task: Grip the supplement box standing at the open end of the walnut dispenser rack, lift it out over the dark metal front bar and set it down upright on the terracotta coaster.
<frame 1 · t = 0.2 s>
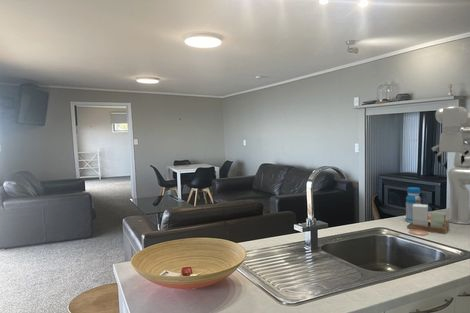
hand: (450, 163, 171), 36 cm above the kitchen counter, tool pointing down, fingers open, 9 cm apart
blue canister: (413, 221, 195), on the kitchen counter
supplement box: (420, 228, 181), resting in rack
rack: (427, 228, 179), on the kitchen counter
coaster: (418, 232, 172), on the kitchen counter
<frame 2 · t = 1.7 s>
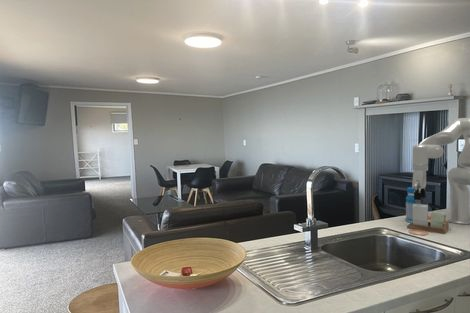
hand: (419, 198, 180), 16 cm above the kitchen counter, tool pointing down, fingers open, 9 cm apart
nothing on the kitchen counter moved.
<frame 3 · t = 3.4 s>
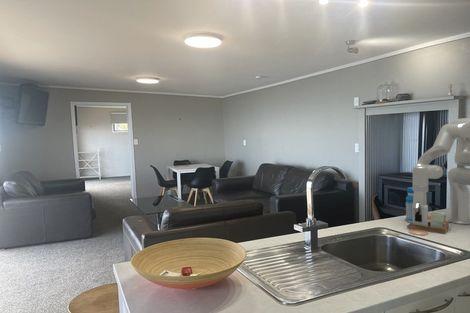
hand: (420, 219, 181), 5 cm above the kitchen counter, tool pointing down, fingers closed on supplement box, 8 cm apart
supplement box: (420, 228, 181), resting in rack, touching gripper
everything else where it was.
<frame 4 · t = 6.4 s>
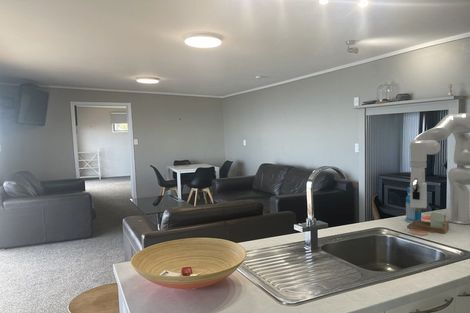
hand: (418, 197, 171), 19 cm above the kitchen counter, tool pointing down, fingers closed on supplement box, 8 cm apart
supplement box: (418, 207, 171), point 14 cm above the kitchen counter, touching gripper
everything else where it was.
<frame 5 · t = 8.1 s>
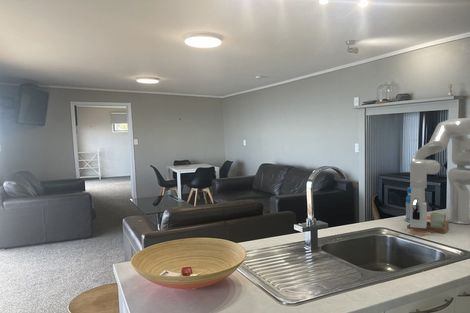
hand: (418, 217, 172), 8 cm above the kitchen counter, tool pointing down, fingers closed on supplement box, 8 cm apart
supplement box: (418, 226, 172), point 3 cm above the kitchen counter, touching gripper
everything else where it was.
when the fingers open (6 cm above the kitchen counter, at t = 9.6 s): supplement box drops 1 cm, resting on coaster.
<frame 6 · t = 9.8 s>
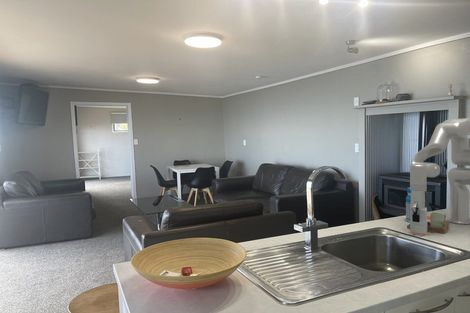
hand: (418, 219, 172), 7 cm above the kitchen counter, tool pointing down, fingers open, 9 cm apart
supplement box: (418, 231, 172), resting on coaster
everything else where it was.
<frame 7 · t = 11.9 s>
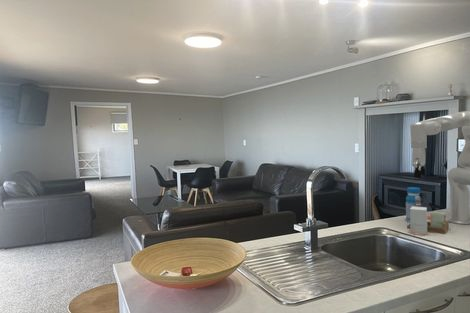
hand: (419, 176, 179), 29 cm above the kitchen counter, tool pointing down, fingers open, 9 cm apart
nothing on the kitchen counter moved.
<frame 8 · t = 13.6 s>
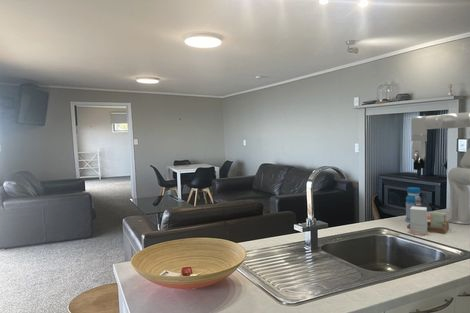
hand: (419, 168, 183), 32 cm above the kitchen counter, tool pointing down, fingers open, 9 cm apart
nothing on the kitchen counter moved.
at the end: supplement box 0.4 cm from the coaster (horizontally); supplement box tilted 0°; the gripper is holding nothing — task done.
